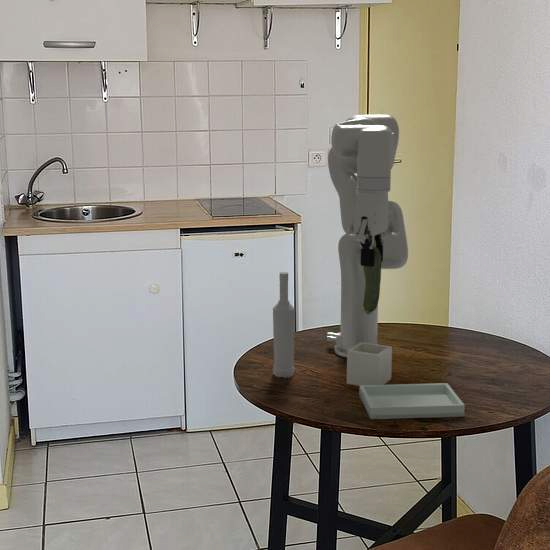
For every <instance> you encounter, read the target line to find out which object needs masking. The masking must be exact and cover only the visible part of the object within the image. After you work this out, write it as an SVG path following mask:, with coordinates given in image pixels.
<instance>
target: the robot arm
mask: <svg viewBox="0 0 550 550" xmlns="http://www.w3.org/2000/svg"><path fill="white" fill-rule="evenodd" d="M399 128H400V127H399V123H398V121H397V119H396V118H395V117H394V116H392V115H390V114H355V115H352V116H350V117H348V118H347V119H346V120H345V121H341V122H337V123H335V125H334V126H333V128H332V131H331V136H330V137H331V138H330V139H331V141H330V142H331V148H330V149H329V151H328V154H327V163H328V165H327V166H328V171H329V176H330V180H331V182H332V184H333V186H334V188H335V190H336V193H337V195H338V198H339V208H340V210H339V211H340V219H341V226H342V230H343V231H344V233H345V234H343V235H341V237H340V239H339V240H338V246H337V248H338V249H337V251H338V258H339V265H340V332H338V333H336V332H332V331H329V332H328V331H327V334H326V340H327V342H331V343H332V342H333V343H335V345H334V348H333V350H334V351H333V352H334V353H335V354H336V355H338V356H340V357H343V358H347V351H348V350H349V349H351V348H352V347H354V346H355V345H357V344H358V343H360V342H364V343H371V344H378V324H379V323H378V322H379V320H378V317H379V315H378V314H379V304H378V305H377V307H376V309H375V310H374V311H373V312H372V313H371V314H370V315H368V314H366V312H365V311H364V307H363V301H364V292H365V275H364V269H363V266H369V267H373V266H374V265H375V249H373V246H374V239H375V241H376V248H378V250H379V251H380V254H381V270H396V269H401V268H403V267H404V266H405V265H406V264H407V262H408V257H409V246H408V238H407V234H406V232H407V231H406V226H405V221H404V214H403V210H402V208H401V206H400V205H399V203H397V202H395V201H392V200H389V192H391V184H392V181H391V178H392V177H391V175H392V169H393V167H394V163H395V158H396V154H397V151H398V150H397V149H398V145H399V138H400V129H399ZM366 232H367V233H370V234H371V235H367V234H366ZM367 238H370V241H369V239H367Z"/></svg>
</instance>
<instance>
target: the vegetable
mask: <svg viewBox="0 0 550 550" xmlns="http://www.w3.org/2000/svg"><path fill="white" fill-rule="evenodd" d="M366 234H367V235H371V234H370V233H367V232H366ZM367 239H369V241H370V238H367ZM373 249H375V265H374V266H373V267H369V266H363V269H364V275H365V292H364V301H363V307H364V311H365V312H366V314H368V315H370V314H371V313H372V312H373V311H374V310H375V309H376V307H377V305H378V306H379V301H380V291H381V279H382V269H381V254H380V251H379V250H378V248H376V241H375V239H374V246H373Z"/></svg>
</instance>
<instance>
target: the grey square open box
mask: <svg viewBox="0 0 550 550" xmlns="http://www.w3.org/2000/svg"><path fill="white" fill-rule="evenodd" d="M392 362H393V346H390V345H383V344H378V343H377V344H371V343H364V342H360V343H358V344H357V345H355V346H354V347H352V348H351V349H349V350H348V351H347V357H346V385H353V386H358V387H359V386H360V385H387V383H388V382H390V380H392Z"/></svg>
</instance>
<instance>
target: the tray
mask: <svg viewBox="0 0 550 550" xmlns="http://www.w3.org/2000/svg"><path fill="white" fill-rule="evenodd" d="M358 387H359V389H358V391H359V394H358V396H359V398H360V401H361V403H362V405H363V406H364V409H365V411H366V412H367V415H368V417H369V419H370V420H383V419H384V420H385V419H389V420H390V419H414V418H415V419H418V418H419V419H420V418H422V419H423V418H457V417H465V409H466V408H465V407H466V406H465V403H464V402H463V401H462V400H461V399H460V397H459V396H458V395H457V394H456V393H455V392H456V391H454V390H453V388H452V387H451V386H450V384H449V383H445V382H444V383H443V382H442V383H440V382H439V383H436V382H435V383H408V384H407V383H406V384H405V383H404V384H403V383H401V384H399V383H398V384H384V385H360V386H358Z"/></svg>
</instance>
